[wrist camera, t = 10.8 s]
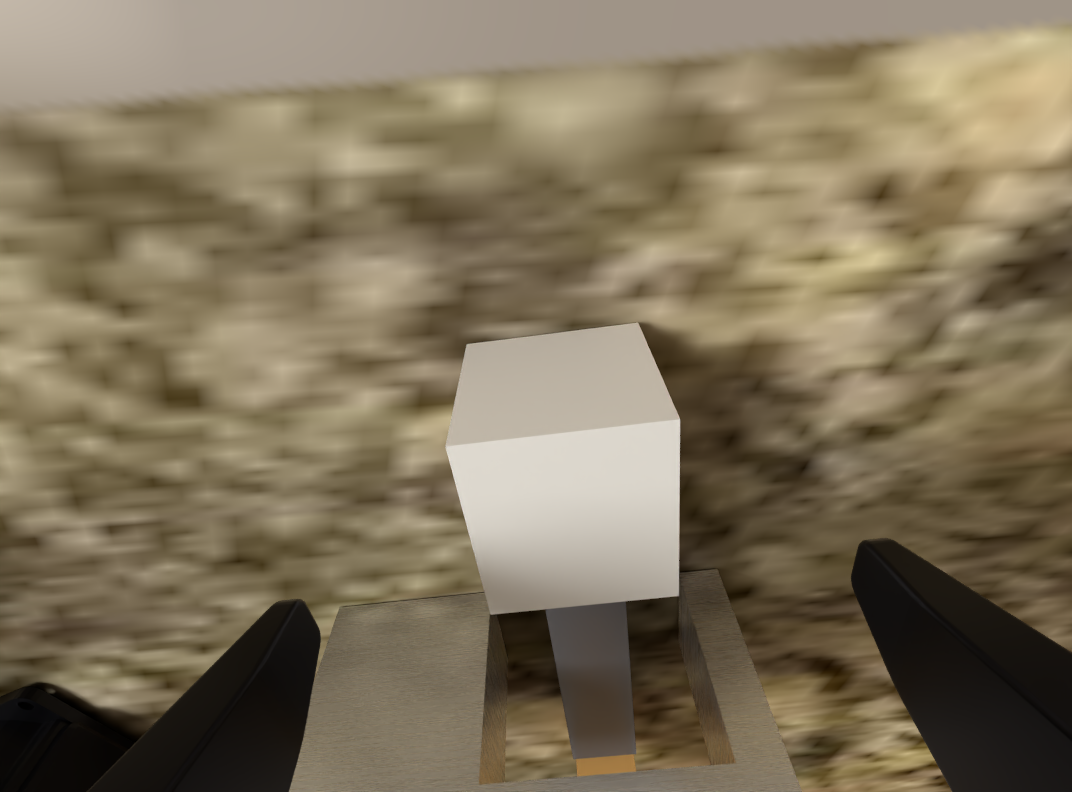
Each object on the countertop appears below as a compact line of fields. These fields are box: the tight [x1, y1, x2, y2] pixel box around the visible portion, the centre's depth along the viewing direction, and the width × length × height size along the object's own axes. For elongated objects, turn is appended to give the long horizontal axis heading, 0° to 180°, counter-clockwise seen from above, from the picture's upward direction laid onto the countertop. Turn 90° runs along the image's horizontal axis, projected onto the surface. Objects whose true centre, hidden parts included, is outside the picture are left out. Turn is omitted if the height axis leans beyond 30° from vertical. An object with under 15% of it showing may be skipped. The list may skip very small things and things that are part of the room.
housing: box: [289, 569, 802, 792], centre depth 16 cm, size 4×12×6 cm, turn 97°
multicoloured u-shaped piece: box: [446, 323, 680, 776], centre depth 13 cm, size 18×4×9 cm, turn 7°
